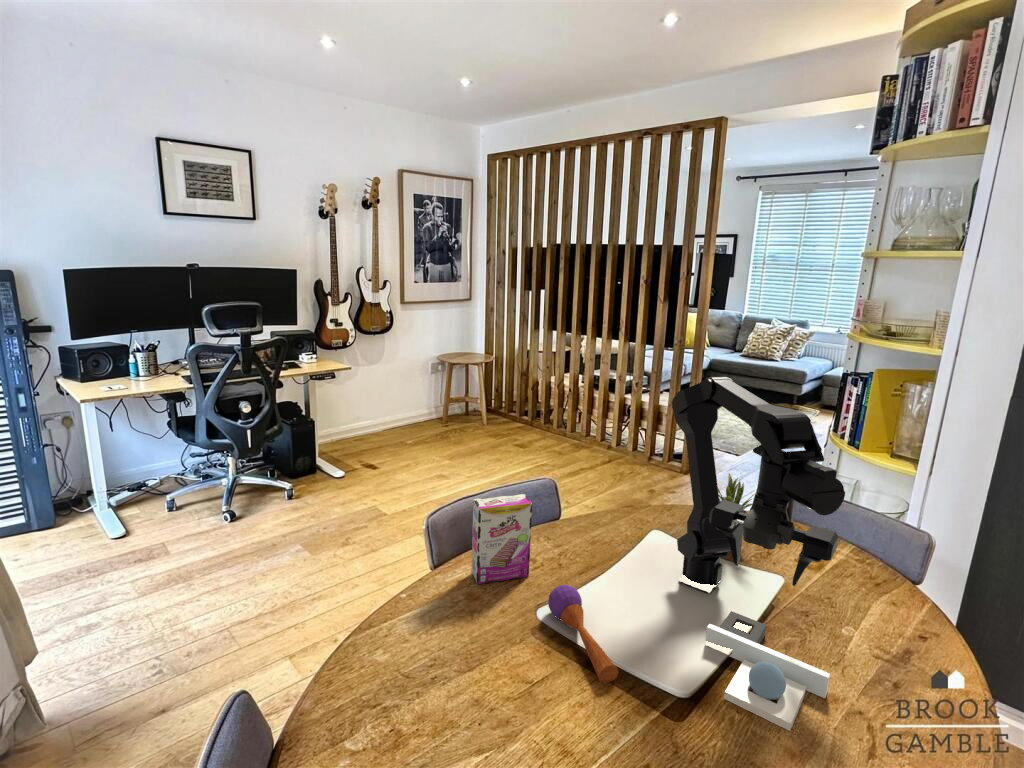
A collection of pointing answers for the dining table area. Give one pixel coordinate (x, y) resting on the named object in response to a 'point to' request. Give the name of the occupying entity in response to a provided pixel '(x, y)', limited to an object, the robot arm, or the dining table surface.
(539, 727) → the dining table surface
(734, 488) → the house plant
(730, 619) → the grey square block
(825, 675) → the divider wall
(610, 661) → the kendama
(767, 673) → the ball
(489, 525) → the candy bar box
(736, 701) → the white rectangular frame
